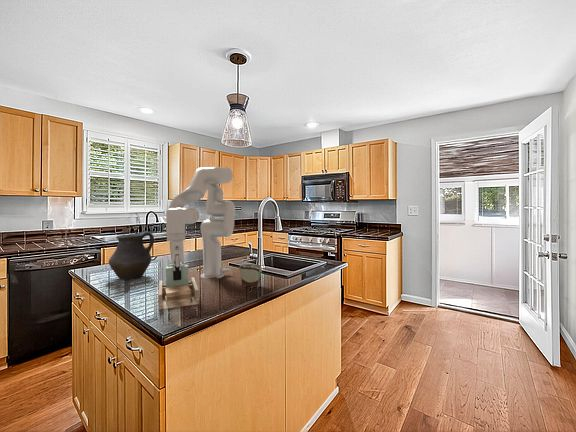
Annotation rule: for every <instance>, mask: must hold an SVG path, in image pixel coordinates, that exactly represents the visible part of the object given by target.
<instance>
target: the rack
mask: <svg viewBox="0 0 576 432" xmlns="http://www.w3.org/2000/svg"><path fill="white" fill-rule="evenodd" d="M158 282H159V283H158V294H157V297H158V310H166V309H171V308H179V307H185V306H187V307H188V306H193V305H199V304H200V299H199V297H200V293H199V292H200V290H199V288H198V284H197V282H196V280H195V277H194V276H192V277H190V281H188V282H189V284H188V285H189V288H190V289H191V302H186V303H180V304H173V305H167V306H166V301H165V296H166V292H165V288H172V287H179V286H171V287H166V283H165V284H163V280H159V281H158ZM180 286H187V285H180Z"/></svg>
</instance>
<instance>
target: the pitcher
mask: <svg viewBox="0 0 576 432" xmlns="http://www.w3.org/2000/svg"><path fill="white" fill-rule="evenodd" d="M145 237H149V244H148V246H146V247H145V245H144V241H143V240H144V238H145ZM154 237H155V236H154V235H153V233H151V232H149V231H146V230H145V231H142V232H140V233H130V234H129V233H128V234H119V235H118V234H117V235H116V237H115V238H116V239H117V241H118V244H117V246H116V249H115V250H114V252H113V253H112V255H111V256H110V257H109V259H108V265H109V267H110V268H111V270H112V271H113V273H114V274H115V275H116V276H117V278H118V279H120V280H135V279H139V278H142V277H143V276H144V274H145V273H146V271H147V270H148V268H149V266H150V264H151V263H152V255H151V253H150V252H151V250H152V248H153V246H154V243H155V238H154Z"/></svg>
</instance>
